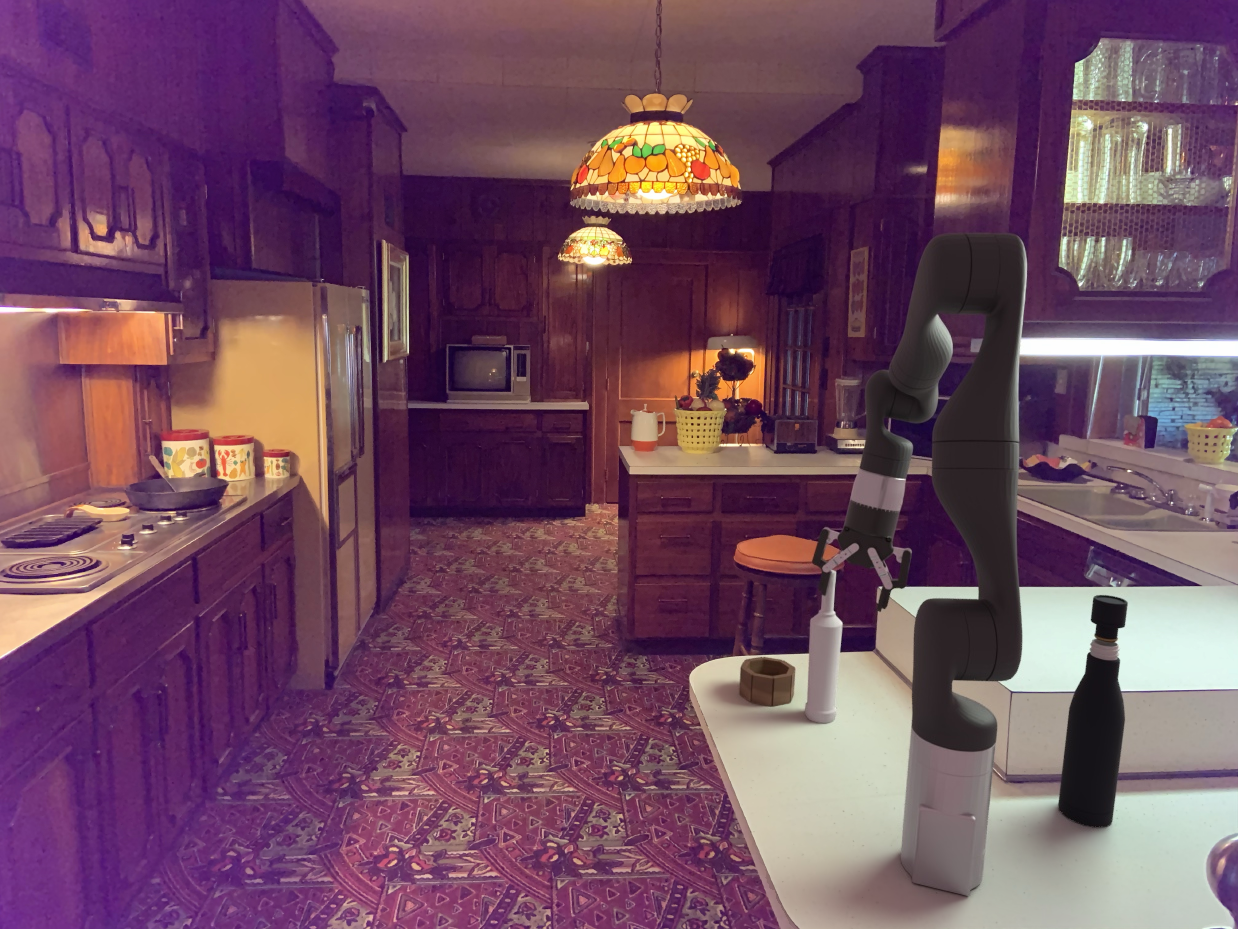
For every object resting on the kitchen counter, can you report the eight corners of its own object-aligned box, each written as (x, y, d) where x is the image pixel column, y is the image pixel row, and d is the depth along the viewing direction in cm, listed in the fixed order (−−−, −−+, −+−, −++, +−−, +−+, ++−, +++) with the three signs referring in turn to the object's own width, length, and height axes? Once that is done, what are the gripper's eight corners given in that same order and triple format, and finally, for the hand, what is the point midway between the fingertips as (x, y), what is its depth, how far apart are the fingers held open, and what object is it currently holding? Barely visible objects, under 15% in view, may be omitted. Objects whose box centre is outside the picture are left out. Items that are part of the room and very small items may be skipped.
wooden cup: (787, 709, 142) (789, 681, 141) (735, 700, 145) (736, 672, 144) (796, 688, 150) (798, 662, 149) (747, 680, 153) (748, 654, 152)
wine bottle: (1047, 806, 114) (1071, 594, 109) (1079, 796, 117) (1103, 589, 112) (1090, 832, 108) (1117, 609, 103) (1123, 821, 111) (1151, 603, 106)
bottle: (833, 710, 142) (843, 567, 138) (838, 724, 137) (848, 576, 133) (802, 708, 142) (811, 566, 138) (806, 722, 137) (815, 575, 133)
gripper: (825, 493, 127) (802, 594, 130) (922, 516, 122) (896, 621, 125) (832, 488, 134) (809, 585, 136) (924, 510, 129) (899, 610, 132)
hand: (851, 602), depth 131 cm, fingers open, 8 cm apart
